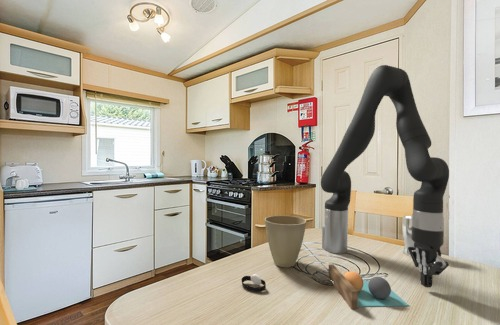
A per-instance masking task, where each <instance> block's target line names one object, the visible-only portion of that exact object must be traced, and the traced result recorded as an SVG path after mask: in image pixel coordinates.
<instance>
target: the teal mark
mask: <svg viewBox="0 0 500 325" xmlns="http://www.w3.org/2000/svg"><path fill="white" fill-rule="evenodd" d="M368 284H369V281H363V288H362V289H361V291H359V292H358V299H357V308H358V307H360V308H362V307H365V308H367V307H369V308H370V307H371V308H372V307H410V305H409V303H407V302H406V301H405V300H404V299H402V297H400V296H399V295H398V294H397V293H395V292H394V291H393V289H391V293H390V295H389V297H387V298H386V299H378V298H376V297H374V296H373V295H372V294H371V293H370V291H369V288H368Z"/></svg>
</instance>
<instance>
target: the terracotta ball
mask: <svg viewBox="0 0 500 325" xmlns="http://www.w3.org/2000/svg"><path fill="white" fill-rule="evenodd" d="M343 276H344V277H345V278H346V279H347V280H348V281H349V282H350V284H351V285H352V286H353V287H354V288H355V289H356V290H357V291H358V292H359V291H361V289H362V288H363V279H364V278H363V277H362V276H361V275H360V273H358V272H356V271H353V270H350V271H347V272H345V273H344V275H343Z"/></svg>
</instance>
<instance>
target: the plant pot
mask: <svg viewBox="0 0 500 325" xmlns="http://www.w3.org/2000/svg"><path fill="white" fill-rule="evenodd" d="M264 224H265V232H266V233H265V234H266V238H267V244H268V247H269V251H270V254H271V257H272V260H273V262H274V265H275V266H277V267H280V268H292V267H294V266H296V263H297V260H298V258H299V256H300V252H301V248H302V246H303V241H304V237H305V232H306V226H307V219H305V218H303V217H299V216H295V215H294V216H293V215H285V214H284V215H283V214H282V215H280V214H278V215H271V216H270V215H269V216H267V217H265V218H264ZM291 266H292V267H291Z"/></svg>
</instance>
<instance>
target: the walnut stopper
mask: <svg viewBox="0 0 500 325" xmlns="http://www.w3.org/2000/svg"><path fill="white" fill-rule="evenodd" d="M328 278H329V279H330V280H332V281H334V285H333V287H334V288H335V289H336V290H337V292H338V294H340V296H341V298H342V299H343V300H344V301H345V302H346V304H347V305H348V307H350V309H351V310H358V307H357V299H358V291H357V290H356V289H355V288H354V287H353V286H352V285H351V284H350V282H349V281H348V280H347V279H346V278H345V277H344V275H343V274H342V273H341V271H340V270H339V269H338V268H337V267H336V266H335V265H334V264H328ZM328 278H327V279H328ZM329 279H328V280H329ZM330 280H329V281H330Z"/></svg>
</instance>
